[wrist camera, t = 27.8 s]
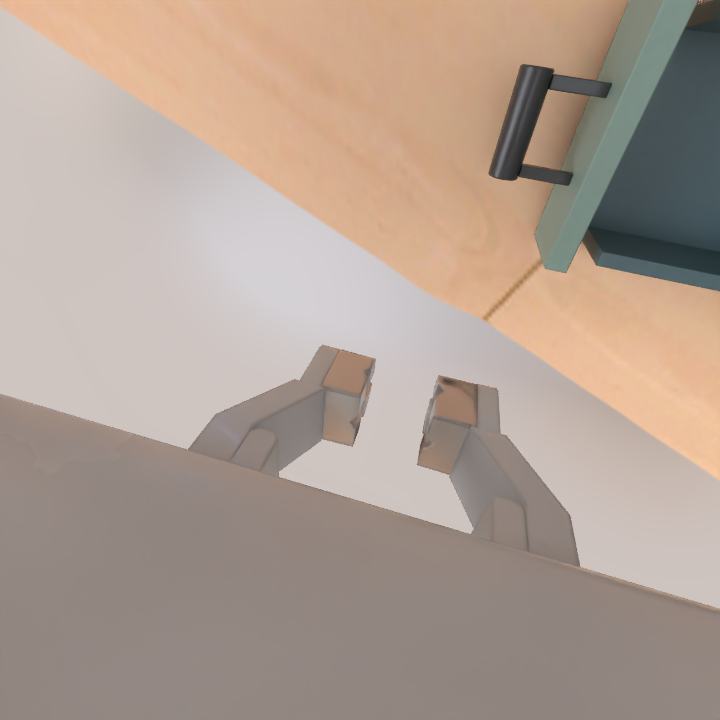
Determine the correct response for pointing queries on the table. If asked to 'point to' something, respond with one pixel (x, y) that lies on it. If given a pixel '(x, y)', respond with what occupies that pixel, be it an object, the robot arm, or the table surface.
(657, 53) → the drawer
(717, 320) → the table surface
